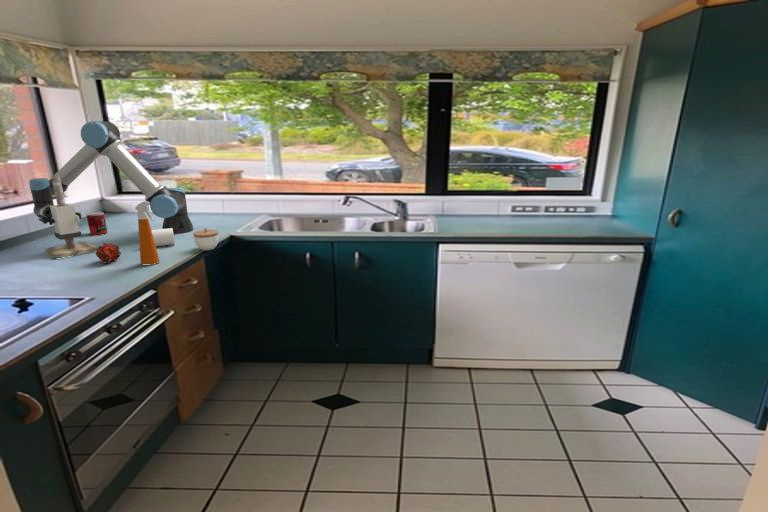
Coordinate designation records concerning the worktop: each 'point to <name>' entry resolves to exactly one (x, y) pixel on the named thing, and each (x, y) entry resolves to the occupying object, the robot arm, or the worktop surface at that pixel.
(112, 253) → the dragon fruit
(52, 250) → the pipe stand
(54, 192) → the robot arm
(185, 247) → the worktop surface
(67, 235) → the thin dark grey plate
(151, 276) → the worktop surface
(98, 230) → the canned food
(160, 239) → the mug
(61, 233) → the sleeve
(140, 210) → the spray bottle
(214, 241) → the lidded jar
